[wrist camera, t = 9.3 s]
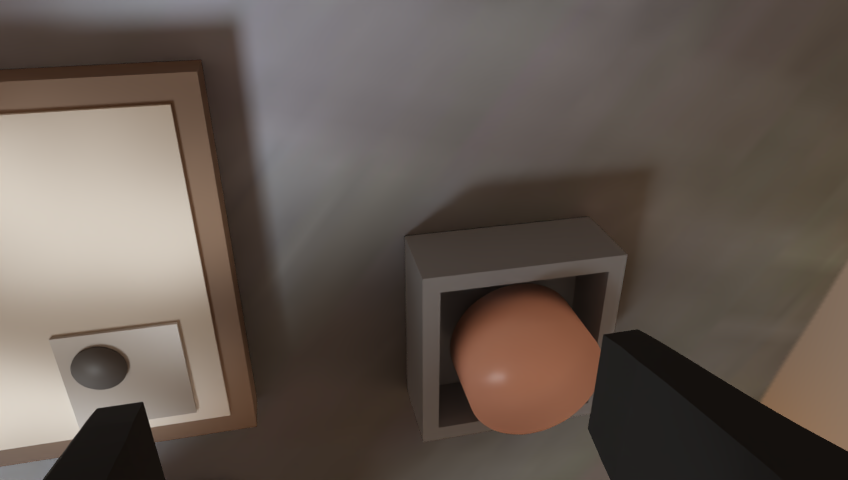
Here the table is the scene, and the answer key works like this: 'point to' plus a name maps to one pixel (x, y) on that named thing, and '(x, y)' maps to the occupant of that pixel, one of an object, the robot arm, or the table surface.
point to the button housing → (483, 273)
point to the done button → (524, 359)
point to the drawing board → (115, 258)
